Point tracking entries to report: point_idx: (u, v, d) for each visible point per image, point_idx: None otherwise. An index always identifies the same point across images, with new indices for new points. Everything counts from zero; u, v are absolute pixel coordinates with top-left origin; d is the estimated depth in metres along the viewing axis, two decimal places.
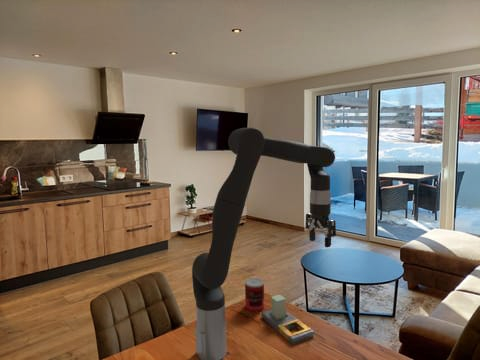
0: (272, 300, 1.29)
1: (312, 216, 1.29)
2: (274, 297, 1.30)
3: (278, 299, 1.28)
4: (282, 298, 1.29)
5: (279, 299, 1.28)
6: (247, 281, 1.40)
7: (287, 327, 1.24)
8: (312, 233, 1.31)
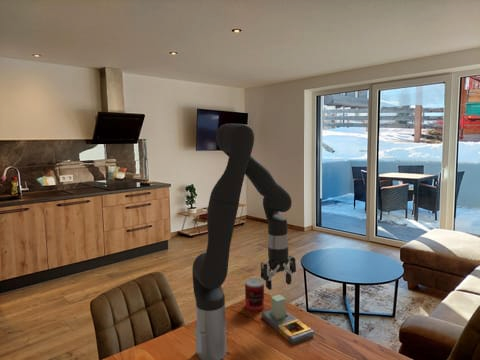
0: (272, 300, 1.29)
1: (273, 263, 1.25)
2: (274, 297, 1.30)
3: (278, 299, 1.28)
4: (282, 298, 1.29)
5: (279, 299, 1.28)
6: (247, 281, 1.40)
7: (287, 327, 1.24)
8: None
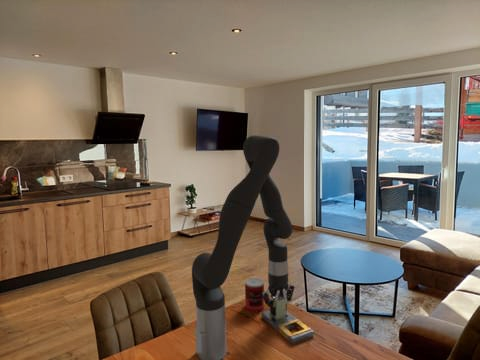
0: None
1: (272, 289, 1.26)
2: (274, 297, 1.30)
3: (278, 299, 1.28)
4: (282, 298, 1.29)
5: (279, 299, 1.28)
6: (247, 281, 1.40)
7: (287, 327, 1.24)
8: None
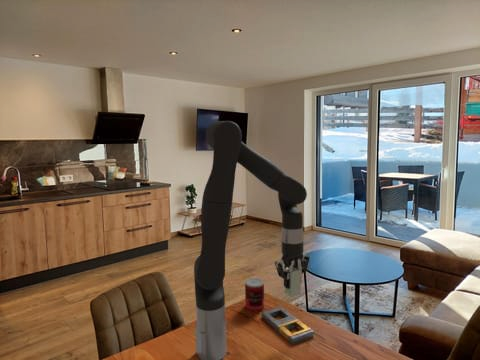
0: None
1: (286, 259, 1.16)
2: (288, 268, 1.20)
3: (293, 271, 1.18)
4: (296, 269, 1.19)
5: (293, 270, 1.18)
6: (247, 281, 1.40)
7: (287, 327, 1.24)
8: None
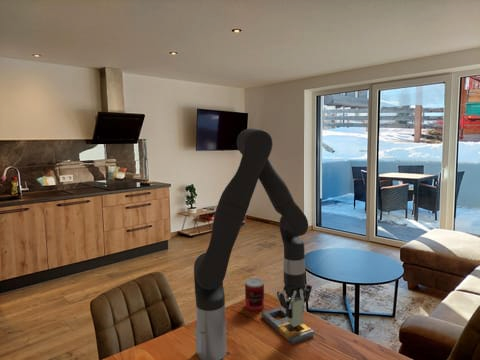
0: None
1: (288, 289, 1.17)
2: (290, 298, 1.20)
3: (295, 301, 1.18)
4: (299, 299, 1.19)
5: (296, 300, 1.19)
6: (247, 281, 1.40)
7: (287, 327, 1.24)
8: None
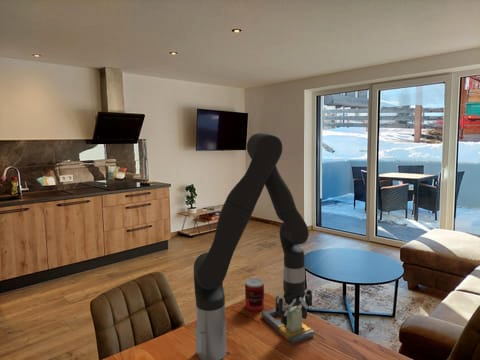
0: None
1: (288, 297, 1.17)
2: None
3: (294, 312, 1.19)
4: (298, 310, 1.20)
5: (295, 311, 1.19)
6: (247, 281, 1.40)
7: None
8: None
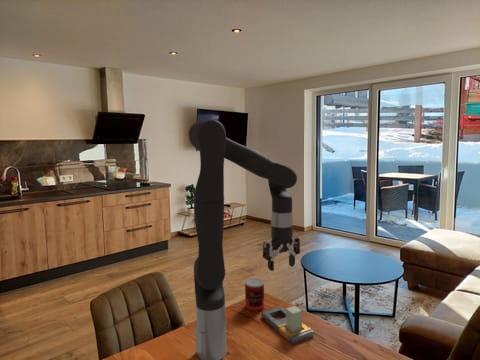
0: (287, 312, 1.21)
1: (276, 242, 1.18)
2: (289, 309, 1.21)
3: (294, 312, 1.19)
4: (298, 310, 1.20)
5: (295, 311, 1.19)
6: (247, 281, 1.40)
7: None
8: None
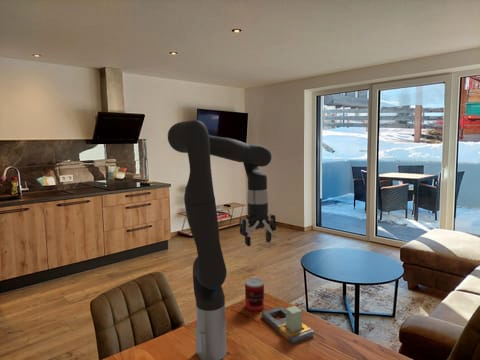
0: (287, 312, 1.21)
1: (252, 219, 1.24)
2: (289, 309, 1.21)
3: (294, 312, 1.19)
4: (298, 310, 1.20)
5: (295, 311, 1.19)
6: (247, 281, 1.40)
7: None
8: None
